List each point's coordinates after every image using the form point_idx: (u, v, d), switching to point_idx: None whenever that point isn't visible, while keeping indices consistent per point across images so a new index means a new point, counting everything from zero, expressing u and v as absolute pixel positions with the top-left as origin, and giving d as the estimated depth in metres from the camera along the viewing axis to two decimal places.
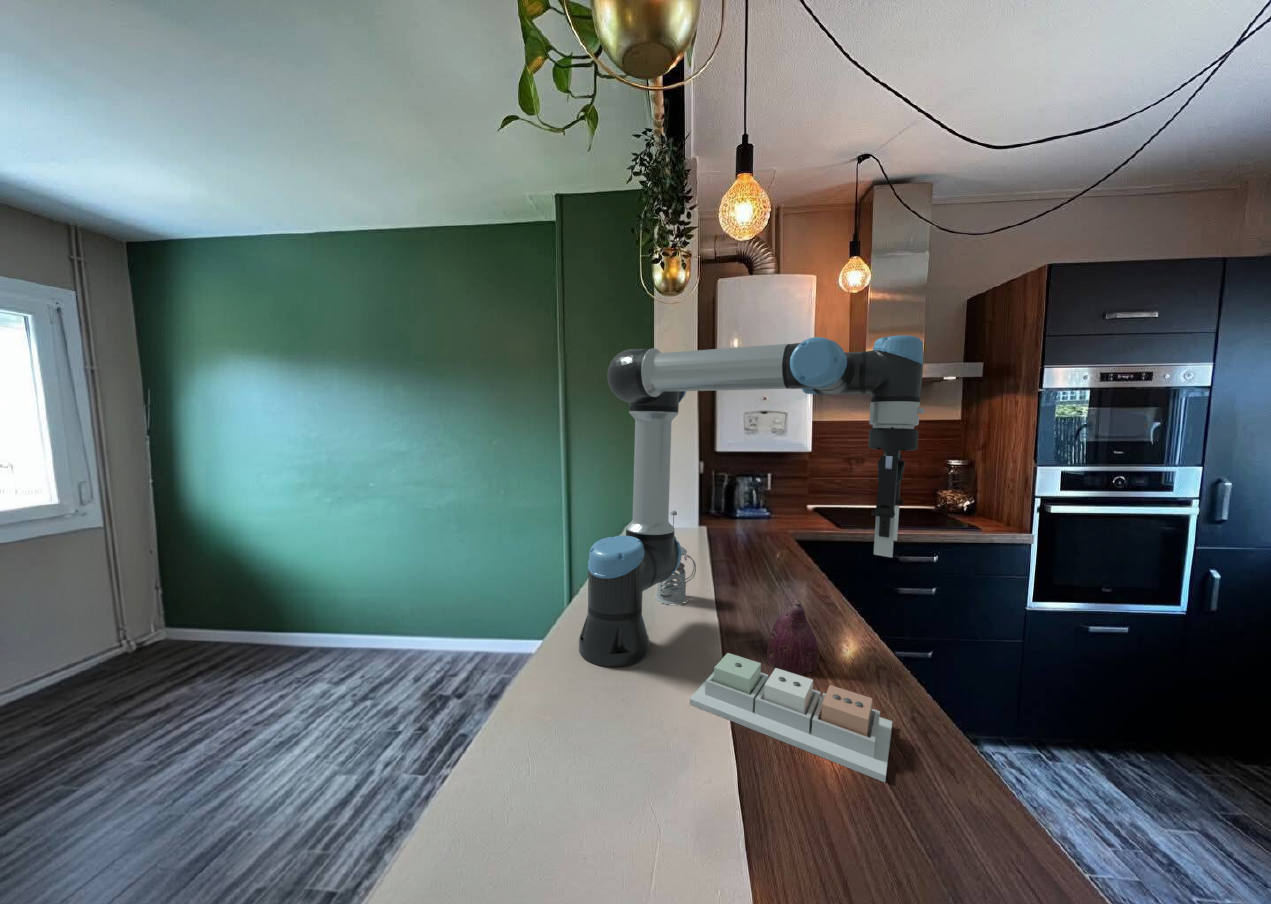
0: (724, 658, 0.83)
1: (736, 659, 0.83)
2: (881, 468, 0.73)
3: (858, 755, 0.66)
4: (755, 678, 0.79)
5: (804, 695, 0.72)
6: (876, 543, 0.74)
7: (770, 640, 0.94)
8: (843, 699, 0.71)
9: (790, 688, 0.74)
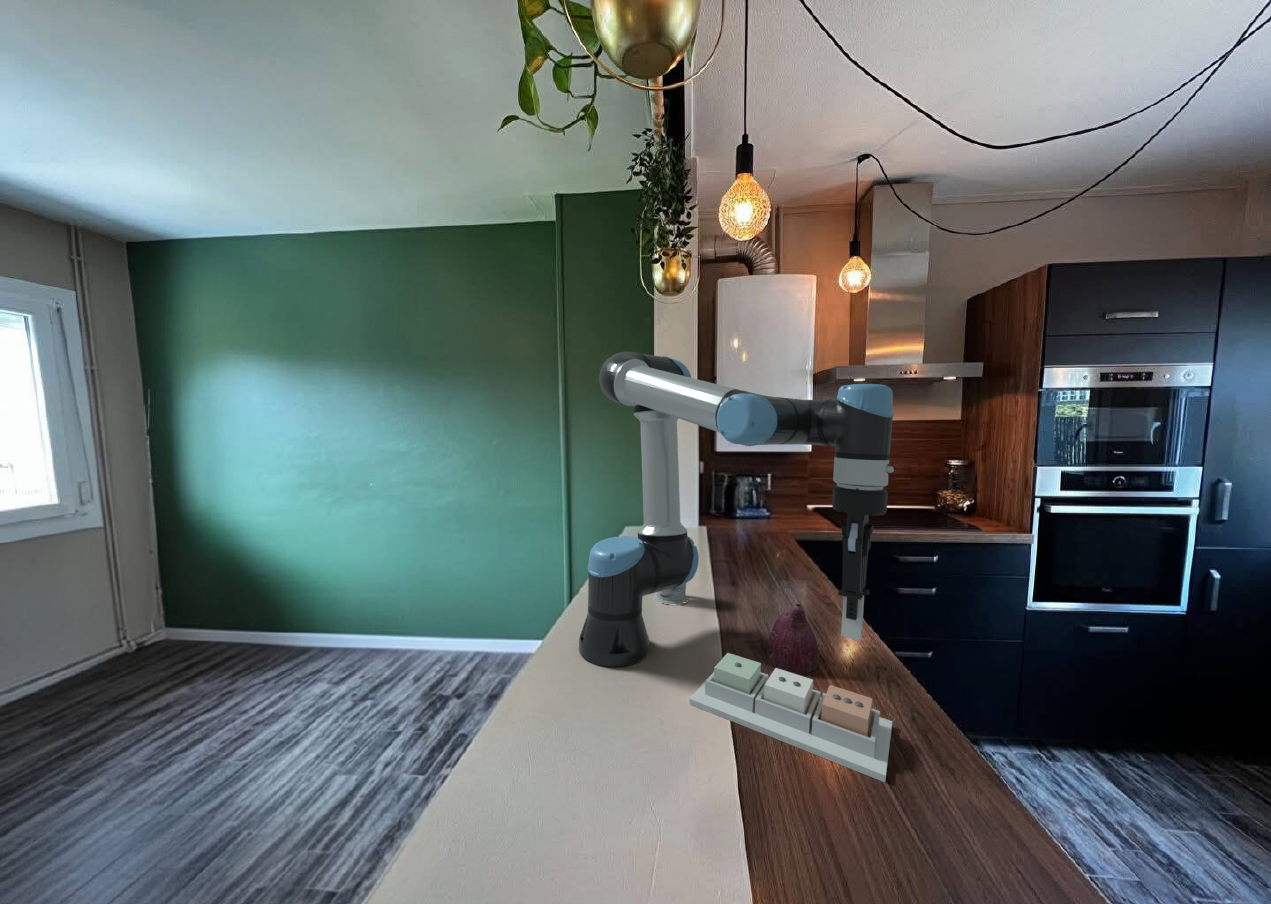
0: (724, 658, 0.83)
1: (736, 659, 0.83)
2: (844, 551, 0.65)
3: (858, 755, 0.66)
4: (755, 678, 0.79)
5: (804, 695, 0.72)
6: (843, 624, 0.70)
7: (770, 640, 0.94)
8: (843, 699, 0.71)
9: (790, 688, 0.74)
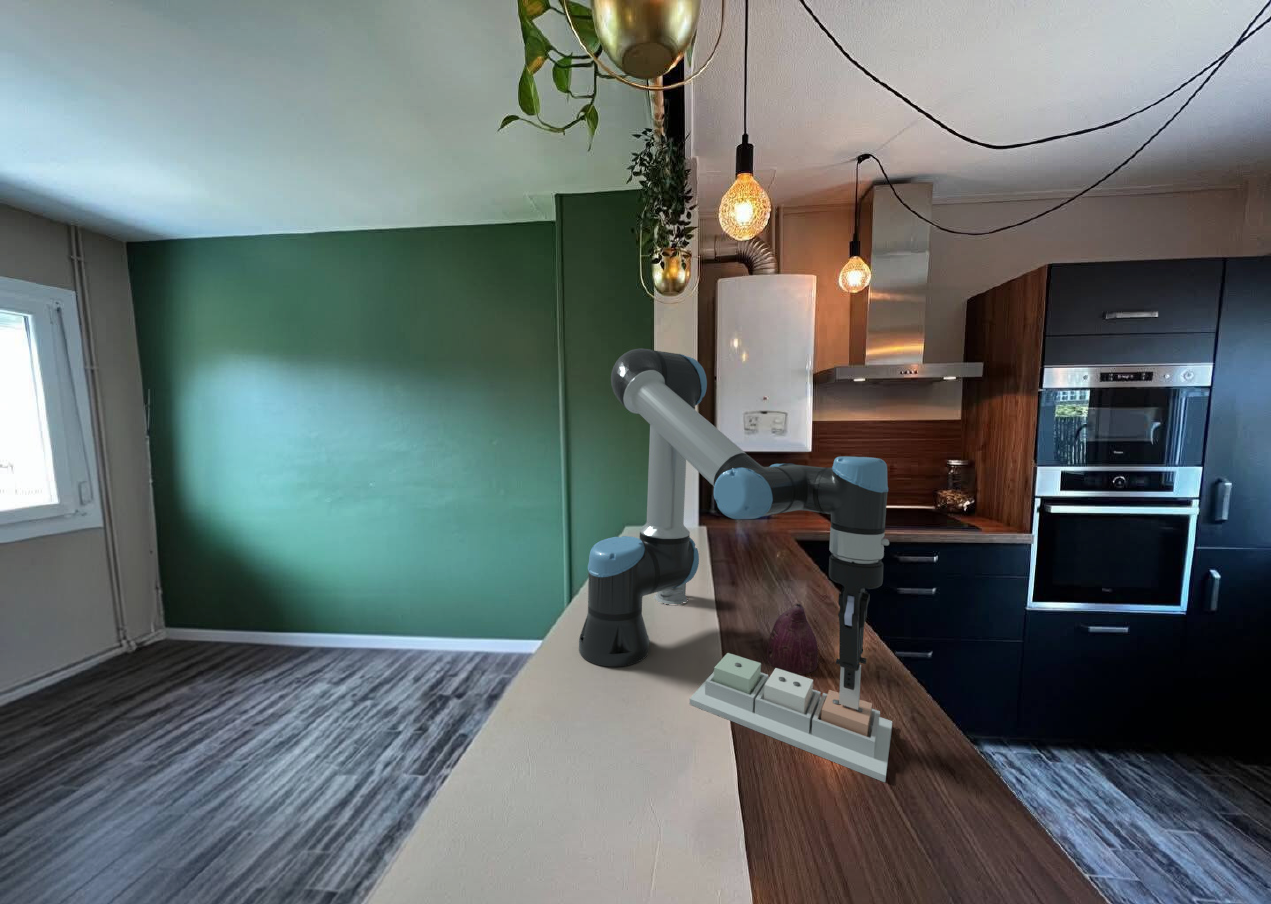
0: (724, 658, 0.83)
1: (736, 659, 0.83)
2: (841, 625, 0.66)
3: (858, 755, 0.66)
4: (755, 678, 0.79)
5: (804, 695, 0.72)
6: (841, 692, 0.70)
7: (770, 640, 0.94)
8: None
9: (790, 688, 0.74)
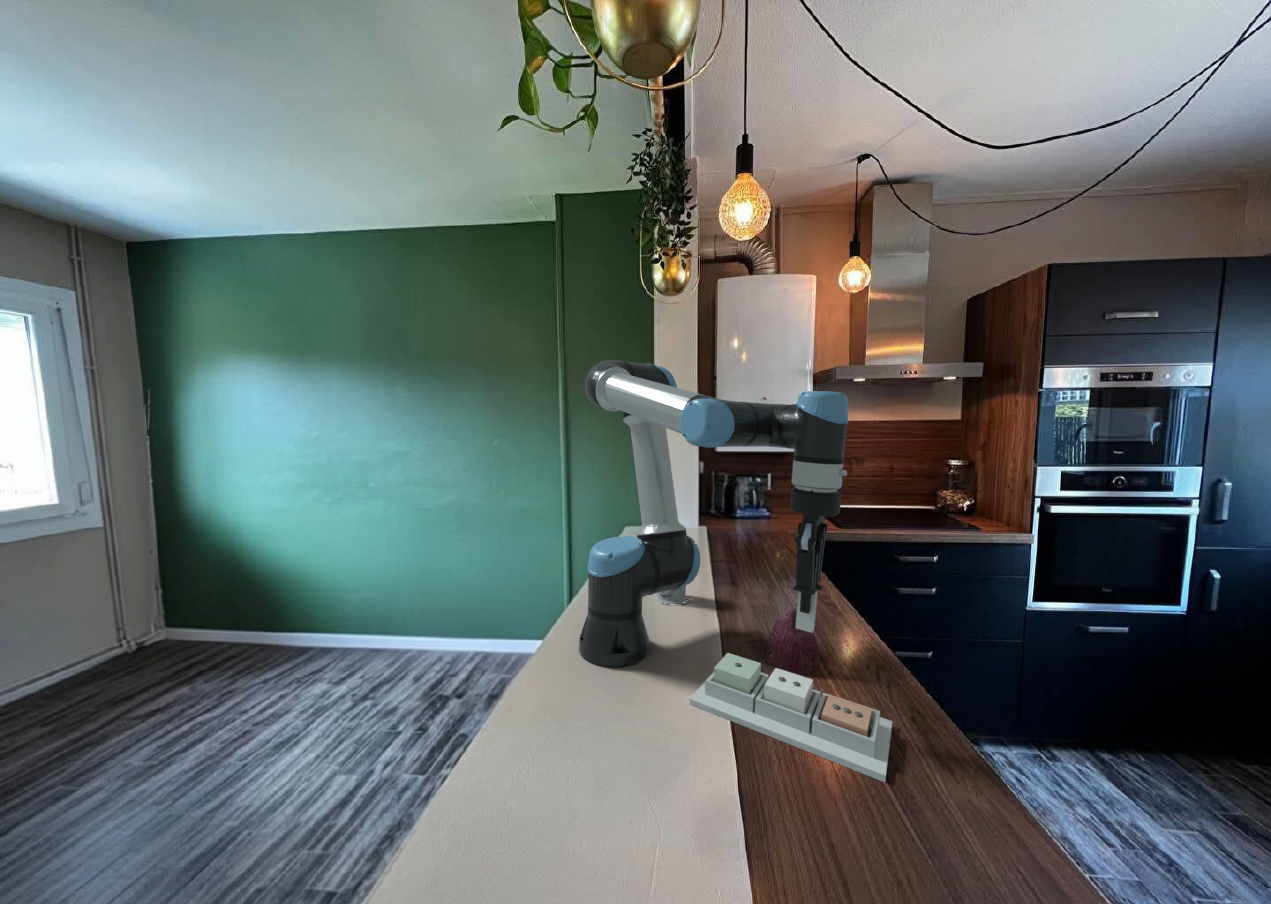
0: (724, 658, 0.83)
1: (736, 659, 0.83)
2: (798, 550, 0.69)
3: (858, 755, 0.66)
4: (755, 678, 0.79)
5: (804, 695, 0.72)
6: (798, 617, 0.74)
7: (770, 640, 0.94)
8: (842, 709, 0.71)
9: (790, 688, 0.74)
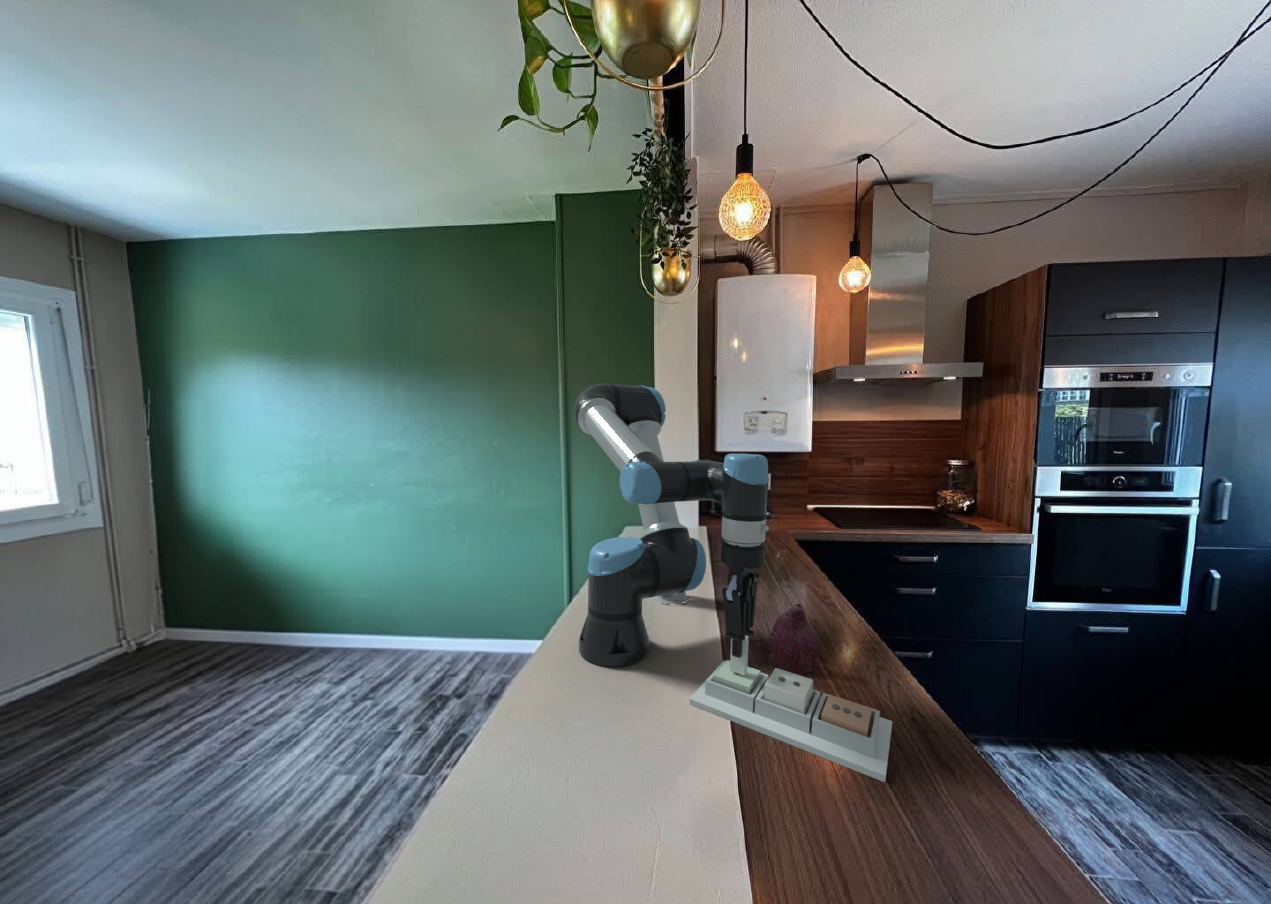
0: (724, 665, 0.83)
1: None
2: (724, 600, 0.76)
3: (858, 755, 0.66)
4: (755, 686, 0.79)
5: (804, 695, 0.72)
6: (731, 660, 0.80)
7: (770, 640, 0.94)
8: (842, 709, 0.71)
9: (790, 688, 0.74)
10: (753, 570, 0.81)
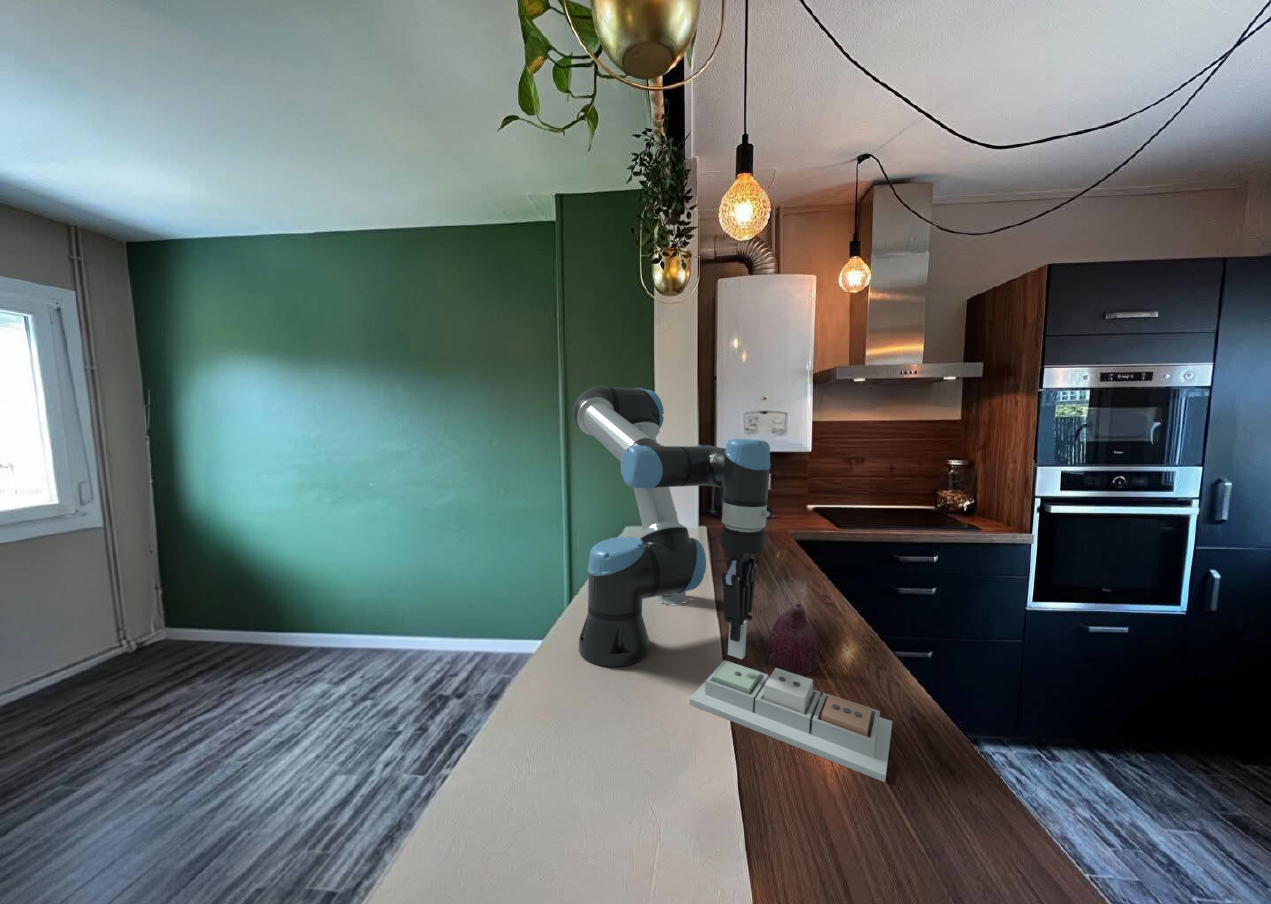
0: (724, 666, 0.83)
1: (736, 668, 0.83)
2: (724, 584, 0.76)
3: (858, 755, 0.66)
4: (755, 687, 0.79)
5: (804, 695, 0.72)
6: (729, 644, 0.81)
7: (770, 640, 0.94)
8: (842, 709, 0.71)
9: (790, 688, 0.74)
10: (753, 556, 0.81)
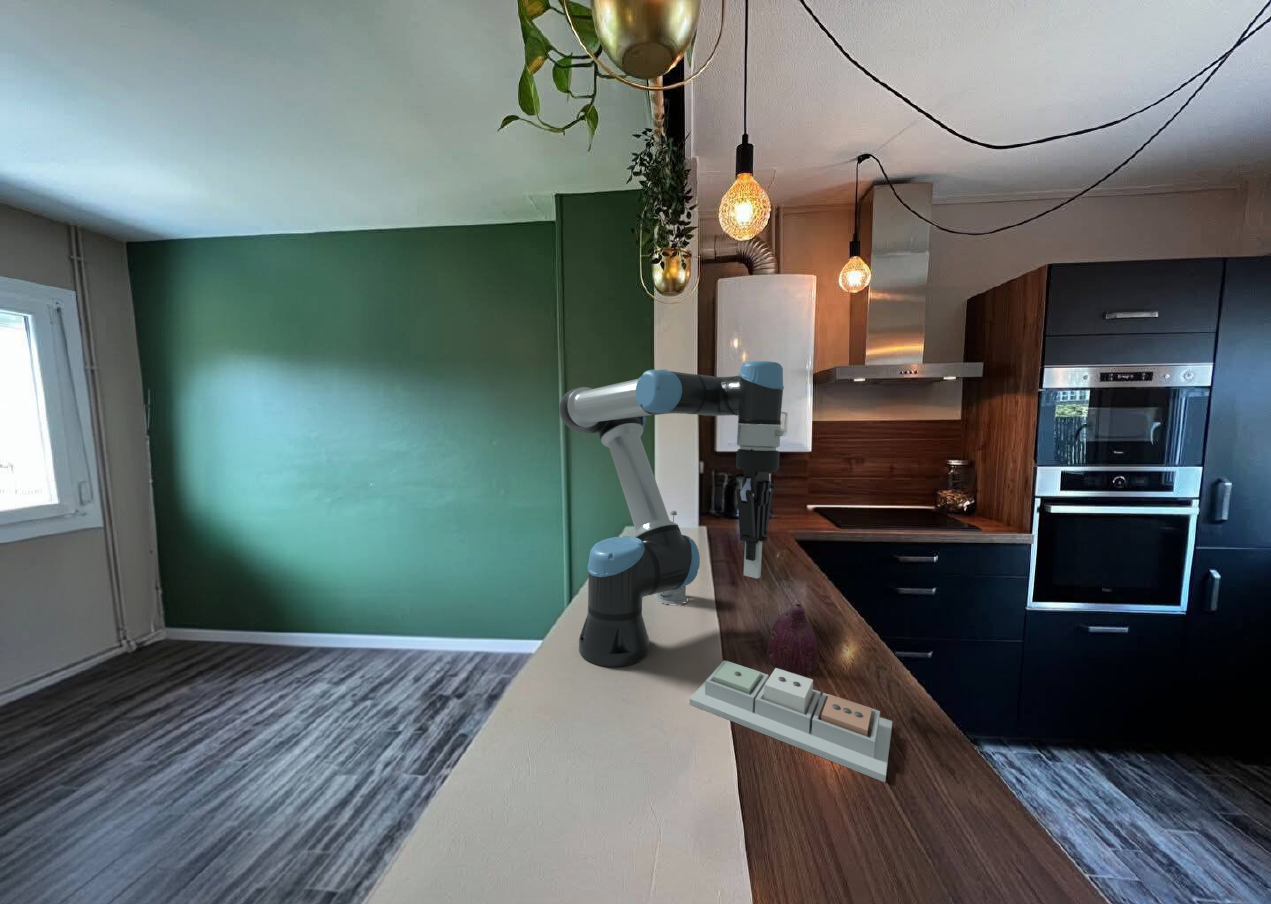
0: (724, 666, 0.83)
1: (736, 668, 0.83)
2: (739, 501, 0.78)
3: (858, 755, 0.66)
4: (755, 687, 0.79)
5: (804, 695, 0.72)
6: (745, 565, 0.83)
7: (770, 640, 0.94)
8: (842, 709, 0.71)
9: (790, 688, 0.74)
10: (767, 479, 0.83)
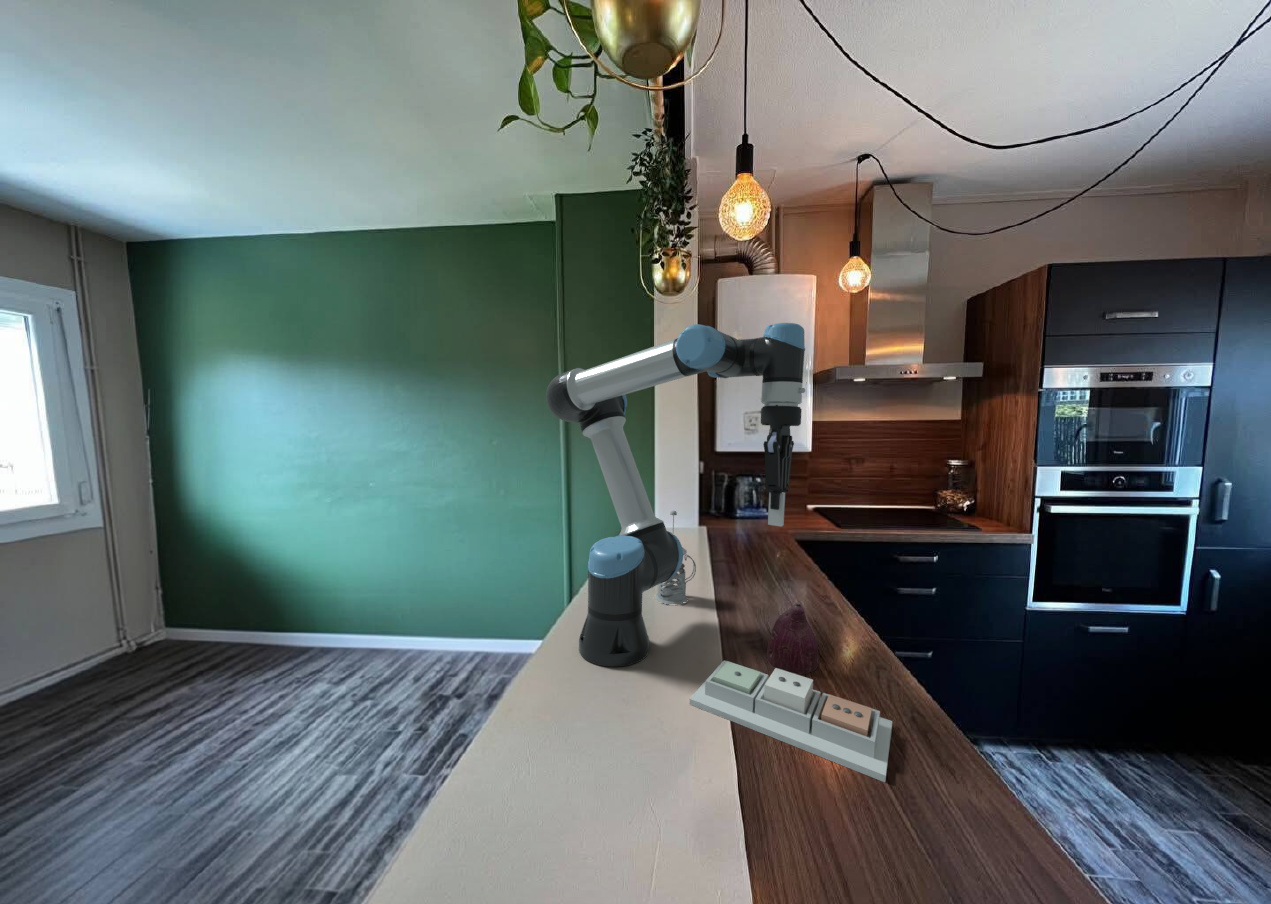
0: (724, 666, 0.83)
1: (736, 668, 0.83)
2: (765, 453, 0.84)
3: (858, 755, 0.66)
4: (755, 687, 0.79)
5: (804, 695, 0.72)
6: (769, 515, 0.89)
7: (770, 640, 0.94)
8: (842, 709, 0.71)
9: (790, 688, 0.74)
10: (789, 435, 0.90)
